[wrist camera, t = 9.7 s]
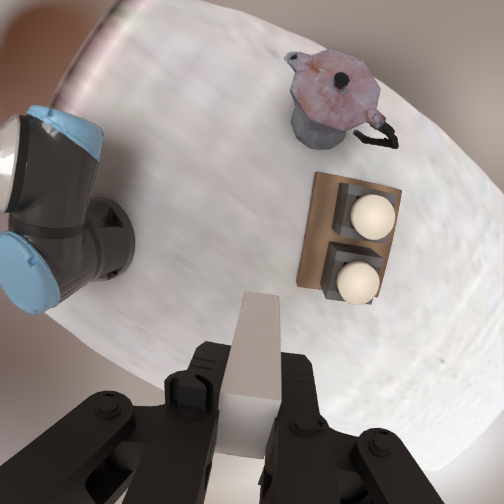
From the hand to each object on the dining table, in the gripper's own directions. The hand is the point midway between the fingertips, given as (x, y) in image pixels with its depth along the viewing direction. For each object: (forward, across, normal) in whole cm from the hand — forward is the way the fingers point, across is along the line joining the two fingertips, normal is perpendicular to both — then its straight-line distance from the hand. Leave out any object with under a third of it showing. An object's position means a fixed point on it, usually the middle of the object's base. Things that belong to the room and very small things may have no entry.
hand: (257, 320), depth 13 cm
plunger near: (+31, +13, +4) cm, 34 cm away
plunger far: (+31, +13, -5) cm, 34 cm away
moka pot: (+35, +6, +16) cm, 39 cm away
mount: (+34, +13, -1) cm, 37 cm away
